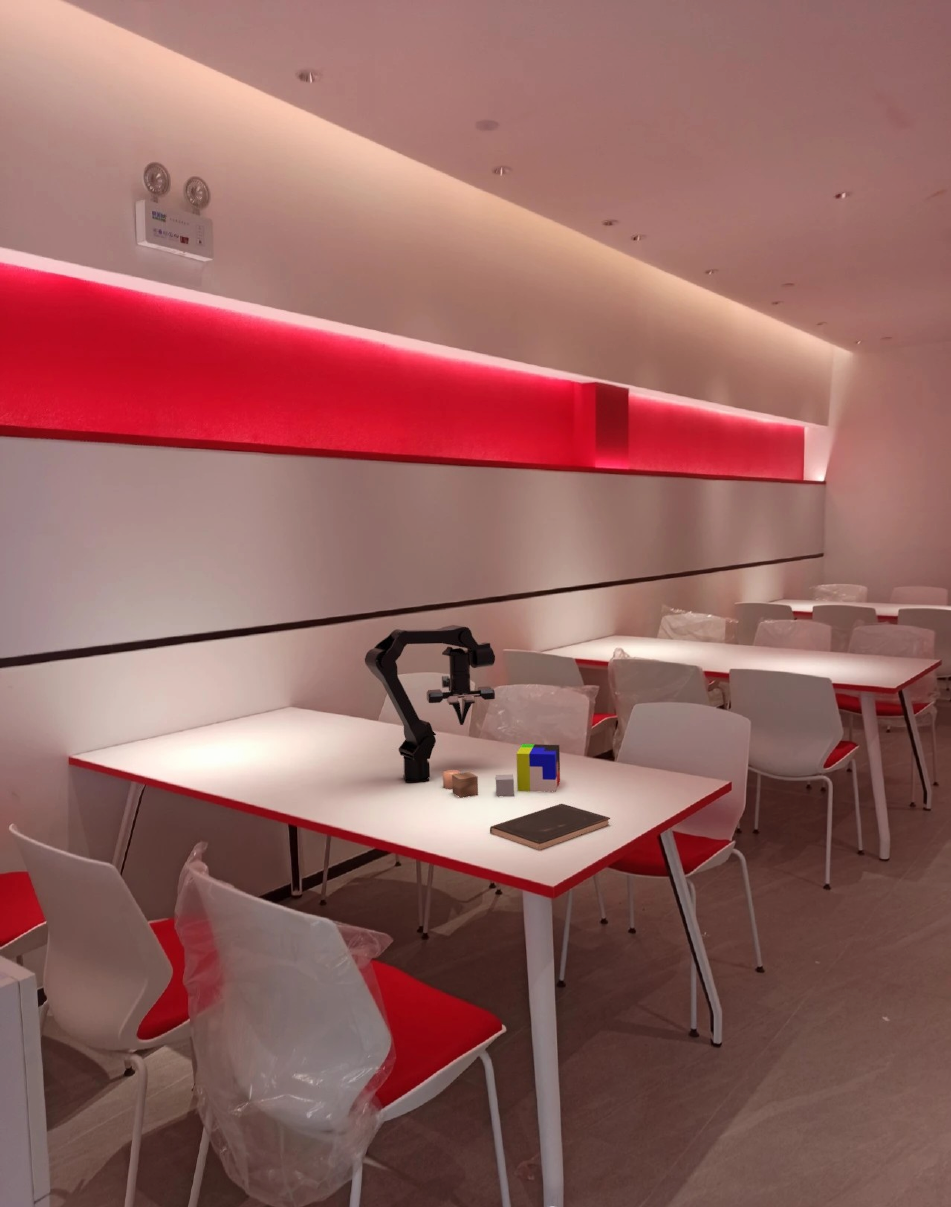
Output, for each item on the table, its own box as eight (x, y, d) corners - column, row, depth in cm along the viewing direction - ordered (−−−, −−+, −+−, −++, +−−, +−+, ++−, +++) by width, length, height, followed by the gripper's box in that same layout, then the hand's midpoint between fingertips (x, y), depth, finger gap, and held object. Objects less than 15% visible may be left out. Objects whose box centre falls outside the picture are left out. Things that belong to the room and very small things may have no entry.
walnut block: (460, 798, 241) (459, 779, 241) (452, 793, 246) (451, 774, 245) (478, 795, 243) (477, 776, 243) (470, 790, 248) (469, 771, 248)
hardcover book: (610, 827, 217) (610, 817, 217) (539, 853, 202) (539, 842, 202) (560, 812, 229) (559, 802, 229) (489, 835, 214) (489, 825, 214)
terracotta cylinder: (444, 789, 249) (444, 775, 249) (442, 785, 253) (441, 770, 253) (461, 788, 250) (460, 773, 249) (458, 784, 254) (458, 769, 254)
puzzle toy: (555, 792, 244) (554, 754, 243) (517, 791, 246) (516, 753, 245) (560, 781, 254) (559, 745, 253) (523, 780, 256) (522, 744, 255)
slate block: (496, 797, 242) (496, 779, 241) (496, 791, 246) (495, 775, 246) (514, 796, 242) (513, 779, 241) (513, 791, 246) (512, 774, 246)
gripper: (487, 663, 274) (488, 716, 276) (423, 667, 271) (425, 720, 273) (494, 669, 264) (496, 724, 265) (428, 673, 260) (430, 729, 262)
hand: (461, 724), depth 267 cm, fingers closed
